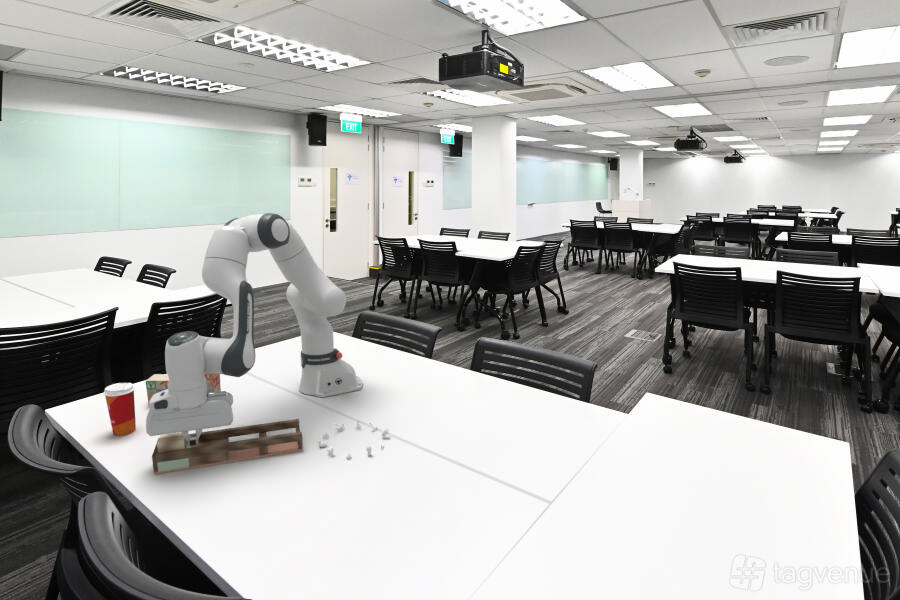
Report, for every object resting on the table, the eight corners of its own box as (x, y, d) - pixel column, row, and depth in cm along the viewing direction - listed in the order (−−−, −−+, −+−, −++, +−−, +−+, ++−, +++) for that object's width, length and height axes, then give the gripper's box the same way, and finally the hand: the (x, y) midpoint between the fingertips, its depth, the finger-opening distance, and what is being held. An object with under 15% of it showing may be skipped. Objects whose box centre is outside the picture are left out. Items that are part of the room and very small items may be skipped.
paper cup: (118, 425, 154) (112, 382, 151) (144, 425, 154) (139, 381, 152) (103, 438, 146) (96, 392, 143) (131, 437, 147) (125, 391, 144)
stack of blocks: (148, 407, 167) (143, 371, 165) (157, 399, 173) (153, 365, 171) (215, 406, 169) (212, 370, 166) (222, 398, 175) (219, 364, 173)
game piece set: (390, 427, 156) (390, 416, 155) (384, 461, 136) (384, 448, 136) (326, 428, 155) (325, 416, 154) (311, 462, 136) (310, 448, 135)
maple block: (187, 445, 137) (185, 431, 136) (185, 454, 132) (183, 440, 131) (161, 449, 134) (160, 435, 134) (158, 458, 130) (157, 443, 129)
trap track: (299, 434, 150) (298, 418, 149) (302, 450, 141) (301, 433, 140) (160, 455, 137) (158, 438, 136) (154, 474, 128) (151, 456, 127)
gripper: (232, 385, 138) (236, 433, 141) (146, 395, 131) (151, 445, 134) (231, 394, 133) (235, 443, 135) (141, 405, 125) (147, 456, 128)
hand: (193, 444), depth 135 cm, fingers closed
